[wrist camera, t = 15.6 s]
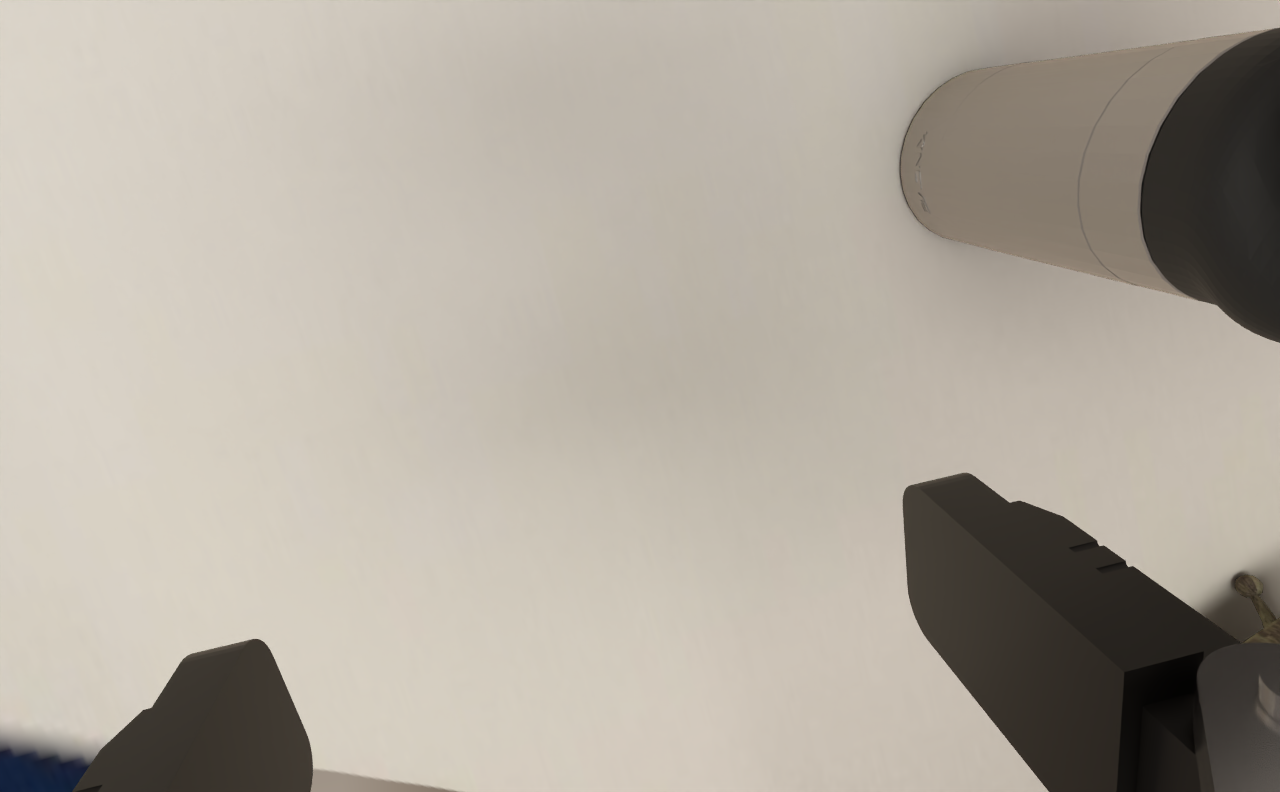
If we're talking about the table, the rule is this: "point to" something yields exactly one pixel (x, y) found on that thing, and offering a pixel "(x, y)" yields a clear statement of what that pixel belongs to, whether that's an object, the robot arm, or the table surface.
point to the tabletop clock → (1259, 610)
